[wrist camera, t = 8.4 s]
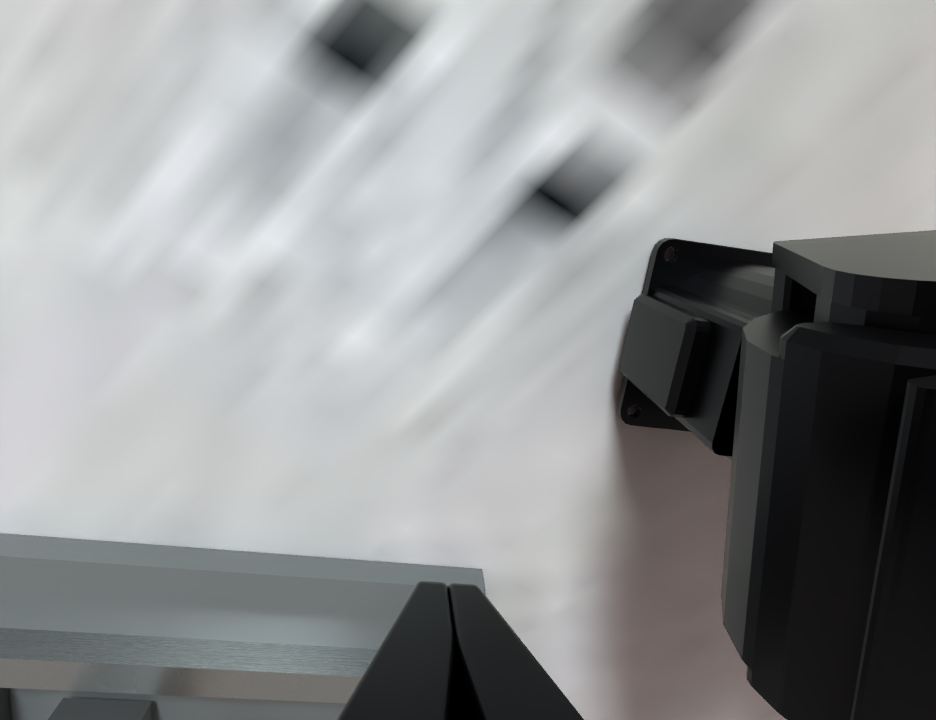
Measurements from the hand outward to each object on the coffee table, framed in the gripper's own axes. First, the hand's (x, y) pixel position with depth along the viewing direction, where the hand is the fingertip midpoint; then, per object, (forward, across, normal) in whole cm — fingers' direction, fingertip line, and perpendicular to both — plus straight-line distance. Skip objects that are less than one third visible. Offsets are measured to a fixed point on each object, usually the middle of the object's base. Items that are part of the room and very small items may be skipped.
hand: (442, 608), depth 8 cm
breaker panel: (+12, +6, +16) cm, 21 cm away
